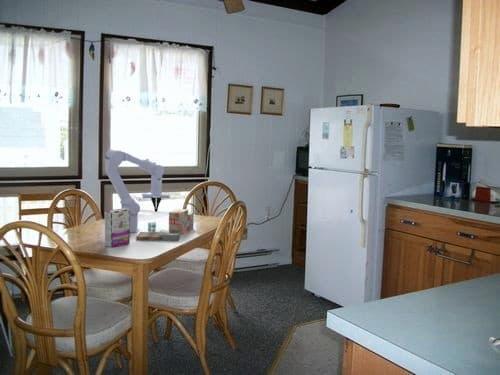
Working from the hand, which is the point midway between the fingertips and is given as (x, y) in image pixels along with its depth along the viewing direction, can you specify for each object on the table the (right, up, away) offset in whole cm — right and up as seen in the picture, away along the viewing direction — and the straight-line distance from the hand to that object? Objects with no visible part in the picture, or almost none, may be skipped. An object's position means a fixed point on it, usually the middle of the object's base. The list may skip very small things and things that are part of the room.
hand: (156, 211), depth 260 cm
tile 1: (+9, -11, -24) cm, 28 cm away
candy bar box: (-10, -14, -40) cm, 44 cm away
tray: (+12, -12, -24) cm, 29 cm away
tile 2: (+13, -12, -24) cm, 30 cm away
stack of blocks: (+15, -11, -6) cm, 19 cm away
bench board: (+2, -12, -24) cm, 27 cm away
